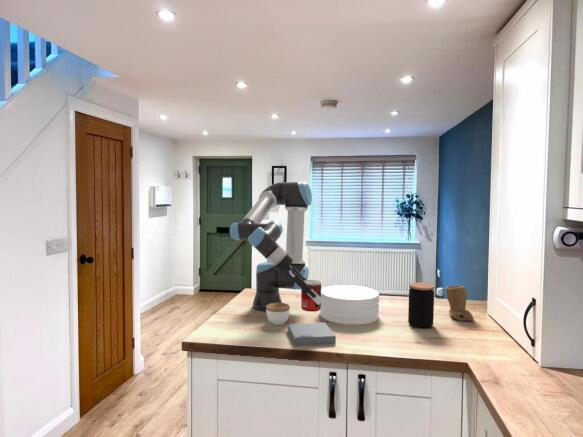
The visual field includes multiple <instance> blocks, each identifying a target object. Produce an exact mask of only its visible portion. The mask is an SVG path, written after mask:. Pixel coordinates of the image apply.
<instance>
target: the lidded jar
mask: <svg viewBox="0 0 583 437" xmlns="http://www.w3.org/2000/svg"><path fill="white" fill-rule="evenodd" d="M290 308H291V307H290V305H289V304H288V303H285V302H282V303H279V302H277V303H271V304H268V305H267V306H266V311H265V312H266V318H267V320H268V322H269V323H270V324H271V325H274V326H280V325H281V326H282V325H284V324H285V323H286V322H287V321H288V319H289V316H290Z"/></svg>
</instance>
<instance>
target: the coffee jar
mask: <svg viewBox="0 0 583 437" xmlns="http://www.w3.org/2000/svg"><path fill="white" fill-rule="evenodd" d="M408 286H409V289H408V310H407V311H408V313H407V314H408V316H407V318H408V320H407V322H408V324H409V325H410V326H411V327H413V328H417V329H431V328H432V327H433V325H434V315H435V314H434V313H435V310H434V309H435V291H434V290H435V285H433V284H430V283H426V282H410V283H409V285H408Z"/></svg>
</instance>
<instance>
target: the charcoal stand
mask: <svg viewBox="0 0 583 437" xmlns="http://www.w3.org/2000/svg"><path fill="white" fill-rule="evenodd" d="M287 328H288V330H287V331H288V334H289V336H290V338H291V339H292V342H293V344H294V347H298V346H299V347H300V346H303V347H304V346H317V345H319V346H320V345H333V344H334V345H335V344H336V342H337V340H336V339H337V337H336V336H337V335H336V334H335V333H334V332H333V330H332V329H331V328H330V327H329V325H327V323H326V321H324V322H303V323H289V324H288V327H287Z"/></svg>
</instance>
